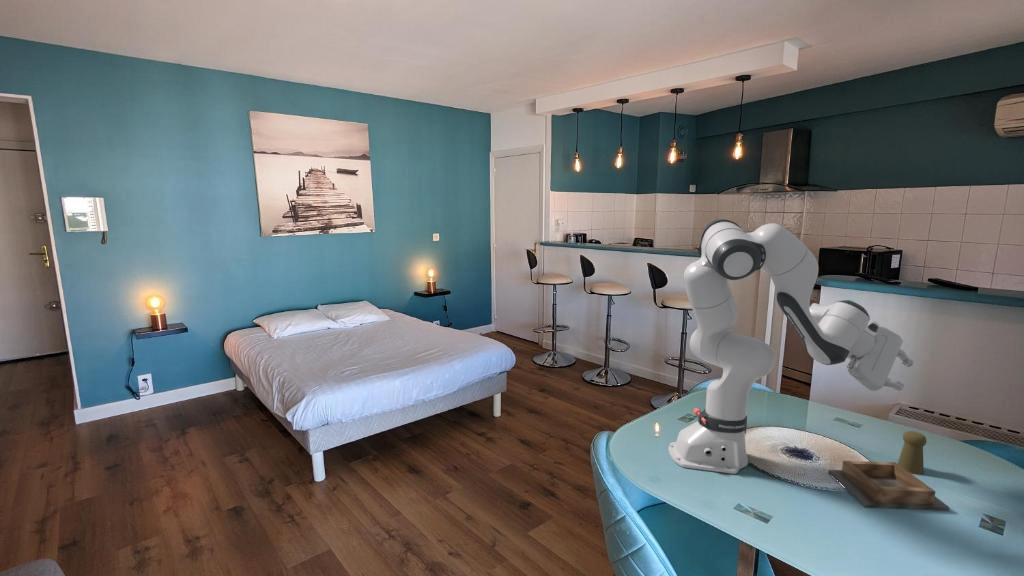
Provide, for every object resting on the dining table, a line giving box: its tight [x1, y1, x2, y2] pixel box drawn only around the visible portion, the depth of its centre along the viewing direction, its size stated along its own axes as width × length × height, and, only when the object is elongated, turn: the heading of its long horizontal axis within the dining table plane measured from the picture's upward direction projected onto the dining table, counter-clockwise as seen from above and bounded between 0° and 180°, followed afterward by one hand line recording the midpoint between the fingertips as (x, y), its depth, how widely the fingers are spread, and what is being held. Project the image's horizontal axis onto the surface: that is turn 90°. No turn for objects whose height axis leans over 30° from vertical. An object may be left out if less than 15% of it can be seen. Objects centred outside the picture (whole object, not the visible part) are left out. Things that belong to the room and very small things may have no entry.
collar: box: [827, 460, 950, 512], centre depth 128 cm, size 20×16×4 cm
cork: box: [896, 430, 927, 475], centre depth 138 cm, size 6×6×11 cm
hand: (906, 376), depth 132 cm, fingers open, 8 cm apart
